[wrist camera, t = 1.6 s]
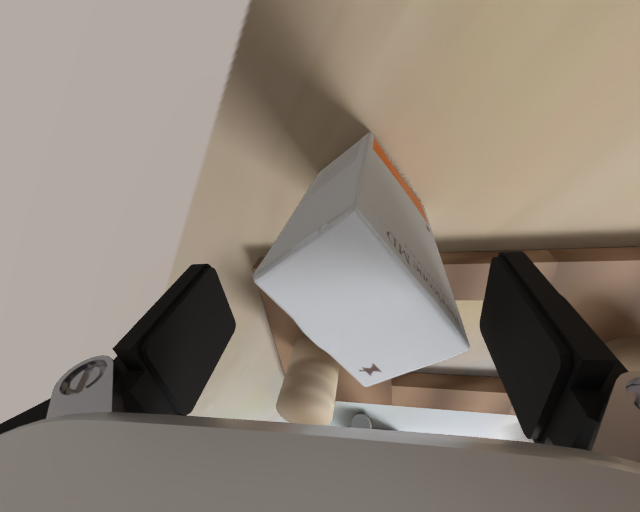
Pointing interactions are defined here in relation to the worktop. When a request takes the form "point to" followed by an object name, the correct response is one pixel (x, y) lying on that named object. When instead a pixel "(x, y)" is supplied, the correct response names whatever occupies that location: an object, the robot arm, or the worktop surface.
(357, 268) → the skincare box
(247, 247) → the worktop surface
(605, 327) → the walnut rail
